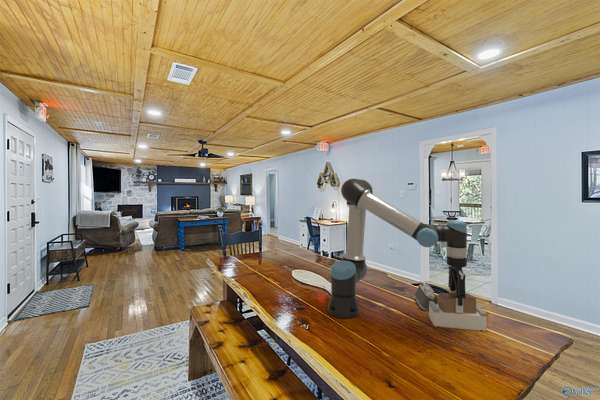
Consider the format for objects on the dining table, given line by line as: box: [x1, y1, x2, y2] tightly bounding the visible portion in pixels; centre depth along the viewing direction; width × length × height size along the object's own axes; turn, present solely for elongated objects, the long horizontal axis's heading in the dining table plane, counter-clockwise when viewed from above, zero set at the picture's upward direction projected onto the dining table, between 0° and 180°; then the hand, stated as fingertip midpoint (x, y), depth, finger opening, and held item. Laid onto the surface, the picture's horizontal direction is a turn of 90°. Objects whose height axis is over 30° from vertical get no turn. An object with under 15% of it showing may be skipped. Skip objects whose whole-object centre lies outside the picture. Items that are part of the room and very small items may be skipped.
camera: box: [413, 282, 438, 311], centre depth 137 cm, size 9×16×10 cm, turn 171°
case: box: [437, 292, 477, 313], centre depth 117 cm, size 13×6×6 cm, turn 86°
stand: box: [428, 301, 488, 332], centre depth 117 cm, size 20×9×7 cm, turn 77°
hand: (456, 308), depth 117 cm, fingers closed on case, 6 cm apart
